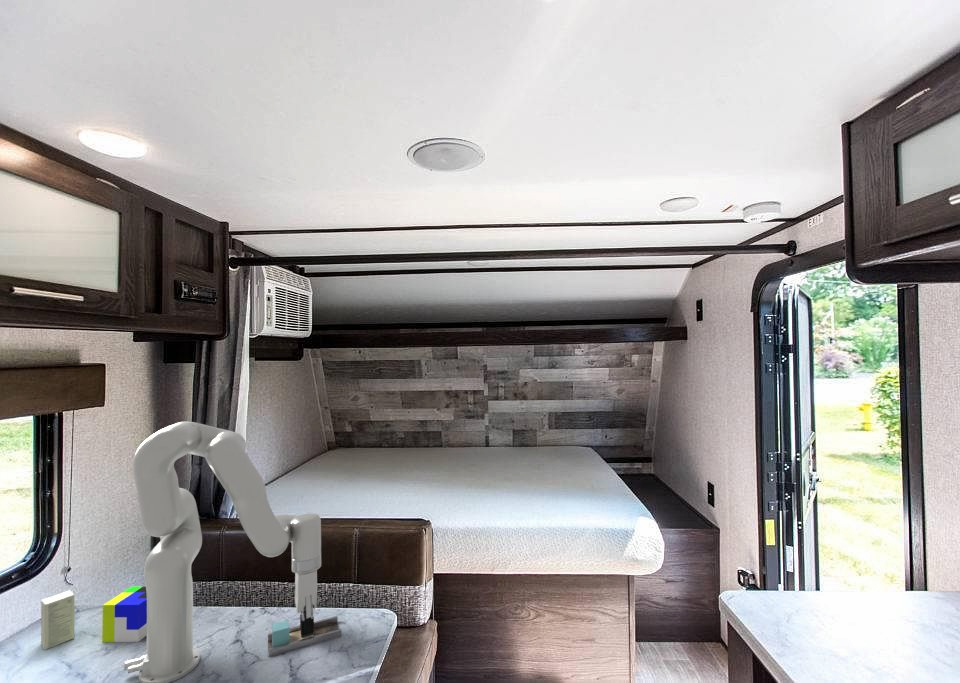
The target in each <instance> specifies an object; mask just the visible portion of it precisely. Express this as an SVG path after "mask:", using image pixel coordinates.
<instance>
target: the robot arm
mask: <svg viewBox="0 0 960 683" xmlns="http://www.w3.org/2000/svg"><path fill="white" fill-rule="evenodd" d="M246 449H247V442H246V440H245V438H244V436H243V435H241V434H240V433H238V432H236V431H232V430H229V429H224V428H220V427H216V426H212V425H208V424H203V423H200V422H196V421H195V422H194V421H180V422H179V421H178V422H176V423H174V424H171V425H168V426H166V427H164V428H161V429H159V430H157V431H156V432H155V433H153V434H151V435H150V436H149V437H147V438H146V439H145V440H144V441H143V442H142V443H140V445H139V446H138V448H137V449H136V452H135V453H134V456H133V459H132V471H133V476H134V482H135V487H136V495H137V501H138V507H139V514H140V519H141V525H142V528H143V530H144V531H145V533H146V534H147V535H149V536H151V537H155V538H159V540H160V541H159V542H158V543H157V544H156V545H155V546H154V547H153V548H152V549H151V551H150V552H149V554H148V556H147V557H146V560H145V563H144V567H143V576H144V582H145V583H144V584H145V587H146V592H147V635H146V653H145V654H141V656H140V657H137V658H131V659H127V660H125V661H124V667H123V670H124V671H126V670H127V673H128V675H129V674H132V673H135V672H138V673H137V674H138V677H137V678H138V682H139V683H172V682H174V681H175V682H176V681H177V680H179V679H181V678H183V677H185V676H186V675H188V674H189V673H190V672H192V671H193V670H194V669H195V668H196V667H197V666H198V665H199V663H200V659H201V653H200V651H199V650H198V649H196V648H193V646H194V644H193V643H194V642H193V641H194V640H193V639H194V635H193V634H194V618H193V617H194V584H193V576H192V564H193V562H194V560H195V559H196V557H197V555H198V554H199V552H200V550H201V548H202V544H203V534H202V528H201V523H200V518H199V511H198V506H197V502H196V499H195V497H194V495H193V494H192V493H191V492H190V491H189V490H188V489H186V488H182V487H180V485H179V477H178V474H177V472H176V469H175V462H176V461H177V460H178V459H181V458H183V457H184V456H186V455H193V456H199V457H201V458H202V457H203V458H204V459H205V461H206V463H207V464H208V466H209V467H210V469H211V471H212V472H213V473H214V475H215V477H216V478H217V480H218V482H219V483H220V484H221V486H222V488H223V489H224V490H225V492H226V493H227V495H228V496H229V498H230V500H231V502H232V505H233V508H234V510H235V512H236V515H237V517H238V519H239V522H240V525H241V527H242V528H243V530H244V532H245V534H246V536H247V537H248V538H249V540H250V542H251V543H252V545H253V546H254V547H255V549H256V550H257V552H259V553H260V555H262V556H265V557H267V558H274V557H278V556H280V555H281V554H282V553H284V552H285V551H286V550H287V548H288V546H289V544H290V543H291V572H292V573H294V575H295V576H294V579H295V580H294V602H295V609H296V612H297V613H298V614H299V626H300V630H301V635H302V636H304V635H307V634H311V633H313V632H314V622H315V619H314V618H315V616H314V610H315V609H316V608H317V604H318V603H317V601H318V600H317V599H318V573H317V572H318V570H319V569H320V568H321V567H322V520H321V519H322V518H321V517H320V515H319V514H318V513H310V512H309V513H304V514H303V513H302V514H299V515H285V514H283V515H282V514H279V515H275V514H274V512H273V510H272V508H271V506H270V505H271V504H270V503H269V500H268V496H267V489H266V484H265V481H264V479H263V477H262V475H261V474H260V472H259V471H258V469H257V468H256V466H255V464H254V463H253V462H252V460H251V458H250V457H249V455H248V453H247V452H246ZM301 615H302V620H301ZM313 634H314V633H313Z"/></svg>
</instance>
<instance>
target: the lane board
mask: <svg viewBox="0 0 960 683" xmlns="http://www.w3.org/2000/svg"><path fill="white" fill-rule="evenodd" d="M338 618H339V617H338V615H335V616H331V617H328V618H323V619H320V620H316V621H315V620H314V632H313V636H312V637H309V638H305V639H301V640H298V641H294V642H290V643H287V644H283V645H279V646H276V647H273V646H272V632H268V633H267V645H268V646H267V648H268V649H267V652H268V654H267V655H268V656H267V657H269V658H270V657H273V656H276V655H280V654H283V653H287V652H291V651H294V650H298V649H302V648H306V647H308V646H312V645H313V646H314V645H316V644H320V643H322V642H326V641H330V640H334V639H337V638H341V637H342V635H343V634H342V628H340V627H339V623H338ZM296 631H300V625H297V626H293V627H289V633H292V632H296Z"/></svg>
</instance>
